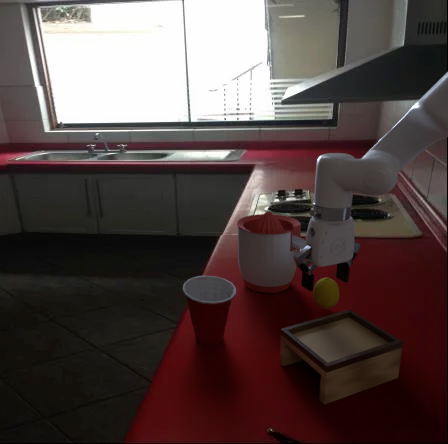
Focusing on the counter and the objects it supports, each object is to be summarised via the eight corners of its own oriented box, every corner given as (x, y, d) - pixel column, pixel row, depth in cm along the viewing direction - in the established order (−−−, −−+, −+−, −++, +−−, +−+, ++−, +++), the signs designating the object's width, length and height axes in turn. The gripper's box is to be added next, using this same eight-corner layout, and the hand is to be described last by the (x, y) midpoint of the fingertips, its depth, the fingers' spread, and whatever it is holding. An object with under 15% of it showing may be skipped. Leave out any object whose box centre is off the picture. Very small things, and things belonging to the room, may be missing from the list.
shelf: (346, 341, 84) (349, 309, 82) (398, 377, 73) (403, 341, 71) (279, 362, 79) (280, 328, 77) (324, 404, 68) (326, 366, 66)
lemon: (316, 301, 100) (318, 270, 97) (340, 306, 97) (343, 275, 94) (309, 311, 96) (311, 279, 93) (334, 317, 93) (337, 285, 90)
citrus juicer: (291, 306, 98) (294, 225, 92) (225, 288, 109) (225, 215, 103) (313, 280, 110) (317, 208, 104) (252, 267, 120) (253, 200, 114)
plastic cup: (215, 360, 81) (215, 305, 77) (174, 340, 88) (171, 288, 84) (246, 335, 88) (246, 283, 84) (205, 318, 95) (204, 270, 92)
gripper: (309, 223, 83) (304, 299, 88) (376, 211, 88) (367, 283, 94) (286, 213, 90) (282, 284, 95) (350, 202, 95) (342, 270, 101)
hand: (324, 284), depth 94 cm, fingers open, 9 cm apart
